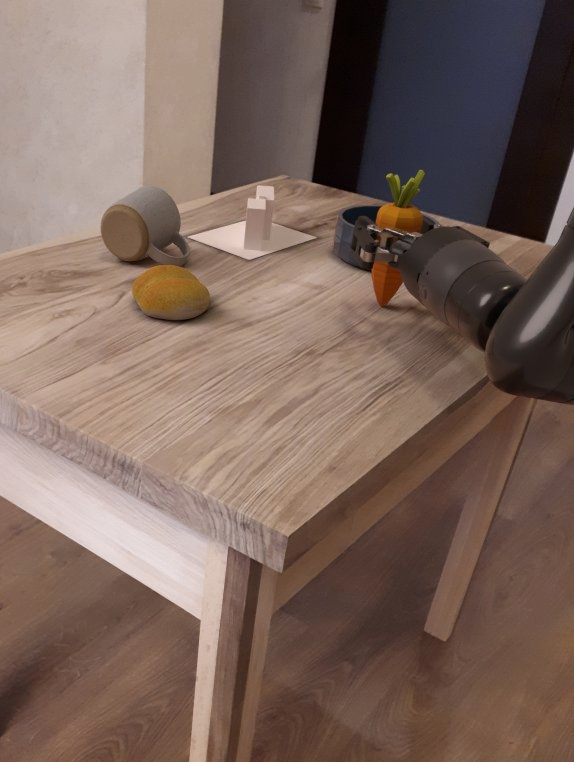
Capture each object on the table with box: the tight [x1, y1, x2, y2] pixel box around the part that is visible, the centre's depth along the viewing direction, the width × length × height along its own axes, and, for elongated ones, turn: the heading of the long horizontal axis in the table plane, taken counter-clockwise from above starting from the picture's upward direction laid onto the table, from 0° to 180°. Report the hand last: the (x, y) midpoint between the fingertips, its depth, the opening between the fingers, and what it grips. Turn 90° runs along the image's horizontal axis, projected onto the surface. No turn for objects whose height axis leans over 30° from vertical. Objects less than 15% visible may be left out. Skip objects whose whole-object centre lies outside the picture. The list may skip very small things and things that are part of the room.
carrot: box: [371, 169, 426, 308], centre depth 87 cm, size 5×5×15 cm
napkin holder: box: [187, 184, 318, 261], centre depth 108 cm, size 15×11×6 cm
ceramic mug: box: [100, 185, 191, 267], centre depth 98 cm, size 11×8×8 cm
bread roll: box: [131, 264, 211, 321], centre depth 87 cm, size 8×9×4 cm
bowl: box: [332, 204, 441, 272], centre depth 104 cm, size 13×13×5 cm
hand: (388, 224), depth 89 cm, fingers open, 6 cm apart
